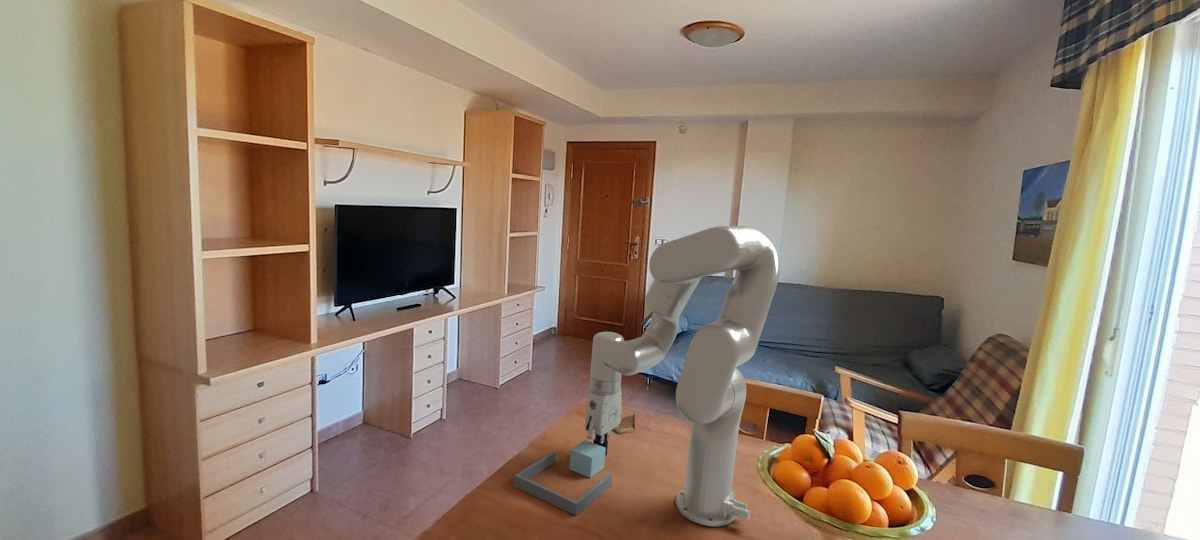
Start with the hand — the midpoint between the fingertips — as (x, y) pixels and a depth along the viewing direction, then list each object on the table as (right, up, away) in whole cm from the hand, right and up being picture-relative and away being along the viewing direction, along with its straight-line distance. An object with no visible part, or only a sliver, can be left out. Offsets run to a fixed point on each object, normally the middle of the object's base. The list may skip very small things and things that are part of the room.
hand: (599, 454), depth 124 cm
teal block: (-3, -2, -5) cm, 6 cm away
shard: (+6, 0, +20) cm, 21 cm away
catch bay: (-8, -2, -12) cm, 15 cm away
